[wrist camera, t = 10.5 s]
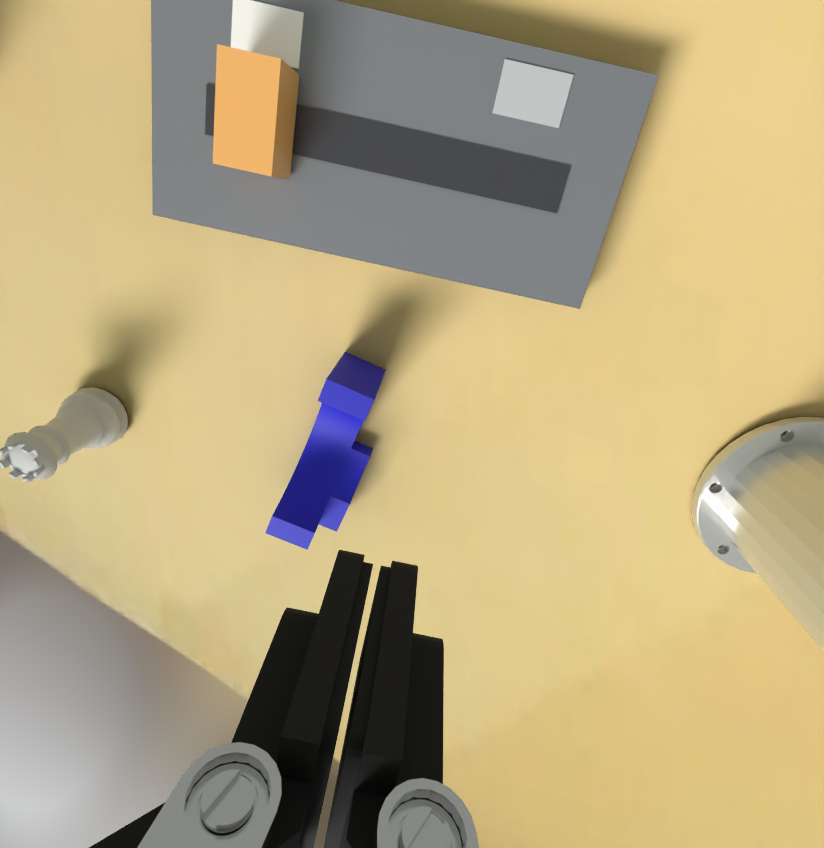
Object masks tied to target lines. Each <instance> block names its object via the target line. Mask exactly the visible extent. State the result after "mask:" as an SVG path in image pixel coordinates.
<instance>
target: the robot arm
mask: <svg viewBox="0 0 824 848" xmlns="http://www.w3.org/2000/svg"><path fill="white" fill-rule="evenodd" d="M691 512H692V519H693V525H694V527H695V529H696V532H697V534H698V536H699V538H700V539H701V540H702V542H703V543H704V545H705V546H706V547H707V549H708V550H709V551H710V552H711V553H712V554H713V555H714V556H715V557H716V558H718V559H719V560H721V561H722V562H724V563H725V564H727V565H729V566H731V567H734V568H736V569H739V570H742V571H746V572H751V573H756V574H758V575H759V576H760V578H761V579H762V580H763V581H764V582H765V584H766V585H767V586H768V587H769V588H770V590H771V591H772V592H773V593H774V594H775V595H776V597H777V598H778V599H779V600H780V601H781V603H782V604H783V605H784V606H785V607H786V609H787V610H788V611H789V612H790V613H791V614H792V616H793V617H794V618H795V619H796V620H797V622H798V623H799V624H800V625H801V626H802V628H803V629H804V630H805V631H806V632H807V634H808V635H809V636H810V637H811V638H812V639H813V641H814V642H815V643H816V644H817V645H818V647H819V648H820V649H821V650H822V651H823V653H824V418H822V417H797V418H789V419H782V420H779V421H776V422H772V423H769V424H765V425H763V426H760V427H758V428H756V429H754V430H752V431H749V432H747V433H745V434H744V435H742V436H741V437H739V438H738V439H736V440H735V441H733V442H731V443H730V444H729V445H728V446H727V447H725V448H724V449H723V450H722V451H721V452H720V453H719V454H717V455H716V457H715V458H714V459H713V460H712V461H711V463H710V464H709V465H708V466H707V467H706V469H705V470H704V472H703V474H702V476H701V477H700V479H699V481H698V483H697V486H696V489H695V492H694V495H693V500H692V510H691ZM363 560H364V555H362V554H357V553H352V552H348V551H343V550H339V552H338V555H337V558H336V561H335V564H334V567H333V571H332V574H331V577H330V580H329V583H328V586H327V590H326V593H325V596H324V599H323V602H322V606H321V609H320V612H319V614H317V613H312V612H307V611H302V610H297V609H292V608H286V610H285V611H284V613H283V616H282V618H281V620H280V623H279V625H278V628H277V630H276V633H275V635H274V638H273V640H272V643H271V645H270V648H269V650H268V653H267V655H266V658H265V660H264V663H263V665H262V668H261V670H260V673H259V675H258V678H257V680H256V683H255V685H254V688H253V690H252V693H251V695H250V698H249V700H248V703H247V705H246V708H245V710H244V713H243V715H242V718H241V720H240V723H239V725H238V728H237V730H236V733H235V735H234V738H233V740H232V742H231V743H228V744H223V745H220V746H218V747H216V748H213V749H211V750H208V751H207V752H206V753H204V754H203V755H202V756H200V757H199V758H198V759H196V760H195V761H194V762H193V763H192V764H191V766H190V767H189V768H188V769H187V770H186V772H185V773H184V774H183V775H182V777H181V779H180V780H179V782H178V783H177V785H176V787H175V788H174V790H173V791H172V793H171V795H170V796H169V798H168V799H167V801H166V802H165V803H163V804H162V805H160V806H158V807H157V808H155V809H153V810H152V811H150V812H148V813H147V814H145V815H143V816H142V817H140V818H138V819H137V820H135V821H133V822H131V823H130V824H128V825H126V826H125V827H123V828H121V829H120V830H118V831H117V832H115V833H113V834H111V835H110V836H108V837H106V838H105V839H103V840H101V841H100V842H98V843H97V844H94V845H93V846H91V847H89V848H313V847H314V842H315V837H316V832H317V828H318V823H319V819H320V814H321V810H322V805H323V801H324V796H325V791H326V787H327V782H328V778H329V773H330V768H331V764H332V759H333V755H334V750H335V745H336V741H337V736H338V731H339V726H340V722H341V717H342V712H343V707H344V702H345V697H346V692H347V688H348V683H349V678H350V673H351V668H352V663H353V659H354V654H355V649H356V644H357V639H358V634H359V629H360V625H361V620H362V615H363V610H364V605H365V600H366V595H367V591H368V586H369V581H370V576H371V571H372V566H373V564H370V563H365V562H363ZM417 573H418V566H415V565H411V564H406V563H401V562H396V561H392V564H391V568H390V567H385V566H381V568H380V572H379V577H378V581H377V586H376V590H375V595H374V599H373V604H372V608H371V613H370V617H369V621H368V626H367V630H366V635H365V639H364V644H363V648H362V653H361V657H360V662H359V667H358V672H357V677H356V682H355V687H354V692H353V698H352V703H351V708H350V713H349V718H348V724H347V729H346V734H345V739H344V744H343V750H342V755H341V760H340V765H339V771H338V776H337V781H336V787H335V791H334V797H333V802H332V807H331V812H330V818H329V823H328V828H327V833H326V839H325V843H324V848H479V845H478V839H477V833H476V830H475V826H474V823H473V820H472V816H471V814H470V813H469V811H468V809H467V808H466V806H465V804H464V803H463V801H462V800H461V799H460V798H459V797H458V796H457V795H456V794H455V793H454V792H453V791H452V790H451V789H450V788H448V787H447V786H445V785H443V669H444V647H443V640H442V639H439V638H434V637H430V636H425V635H420V634H415V633H413V623H414V611H415V598H416V586H417Z"/></svg>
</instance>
